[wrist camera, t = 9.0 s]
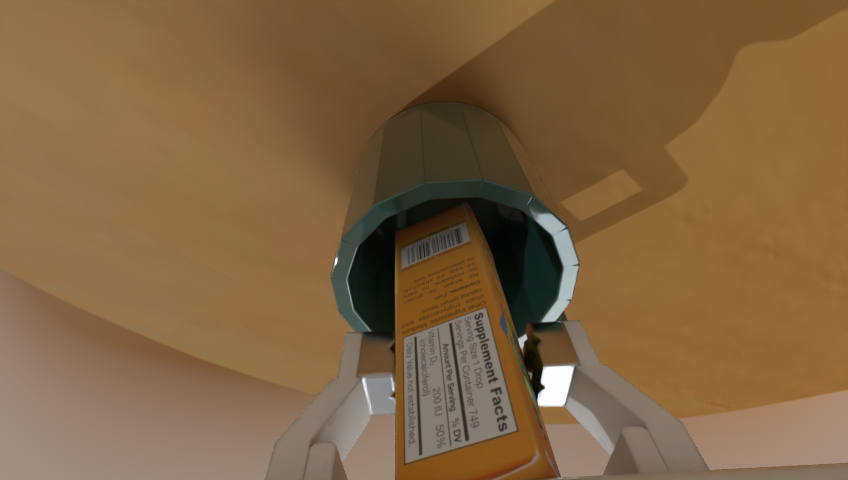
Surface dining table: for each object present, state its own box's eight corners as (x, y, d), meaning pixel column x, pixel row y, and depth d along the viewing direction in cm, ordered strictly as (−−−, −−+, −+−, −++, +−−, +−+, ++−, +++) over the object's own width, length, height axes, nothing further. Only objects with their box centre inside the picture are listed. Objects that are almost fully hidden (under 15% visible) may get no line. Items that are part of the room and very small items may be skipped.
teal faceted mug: (322, 193, 20) (284, 299, 14) (438, 58, 17) (453, 120, 11) (482, 303, 25) (505, 418, 19) (598, 216, 21) (673, 322, 15)
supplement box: (502, 256, 17) (585, 539, 9) (426, 284, 18) (440, 567, 10) (473, 192, 15) (545, 473, 7) (391, 226, 16) (371, 514, 8)
